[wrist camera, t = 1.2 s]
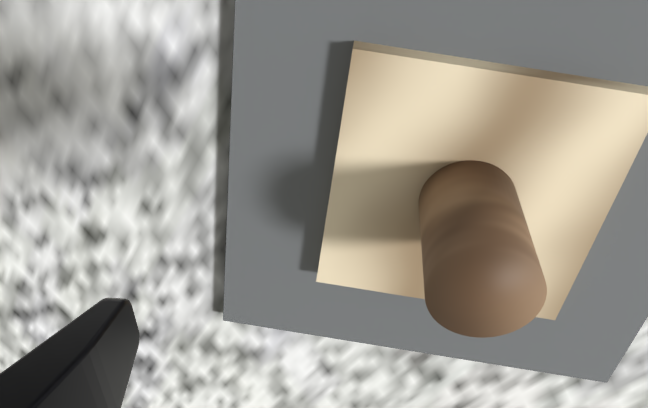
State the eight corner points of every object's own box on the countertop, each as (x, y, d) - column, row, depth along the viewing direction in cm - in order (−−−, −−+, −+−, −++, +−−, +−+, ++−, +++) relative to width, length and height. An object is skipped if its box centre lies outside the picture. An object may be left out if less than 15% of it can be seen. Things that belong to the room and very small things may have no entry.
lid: (655, 87, 19) (743, 179, 14) (550, 306, 25) (588, 425, 20) (354, 40, 19) (340, 116, 14) (318, 269, 25) (300, 378, 20)
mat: (841, -25, 17) (855, -20, 17) (603, 372, 27) (606, 382, 27) (244, -117, 18) (239, -115, 17) (226, 311, 28) (223, 320, 27)
